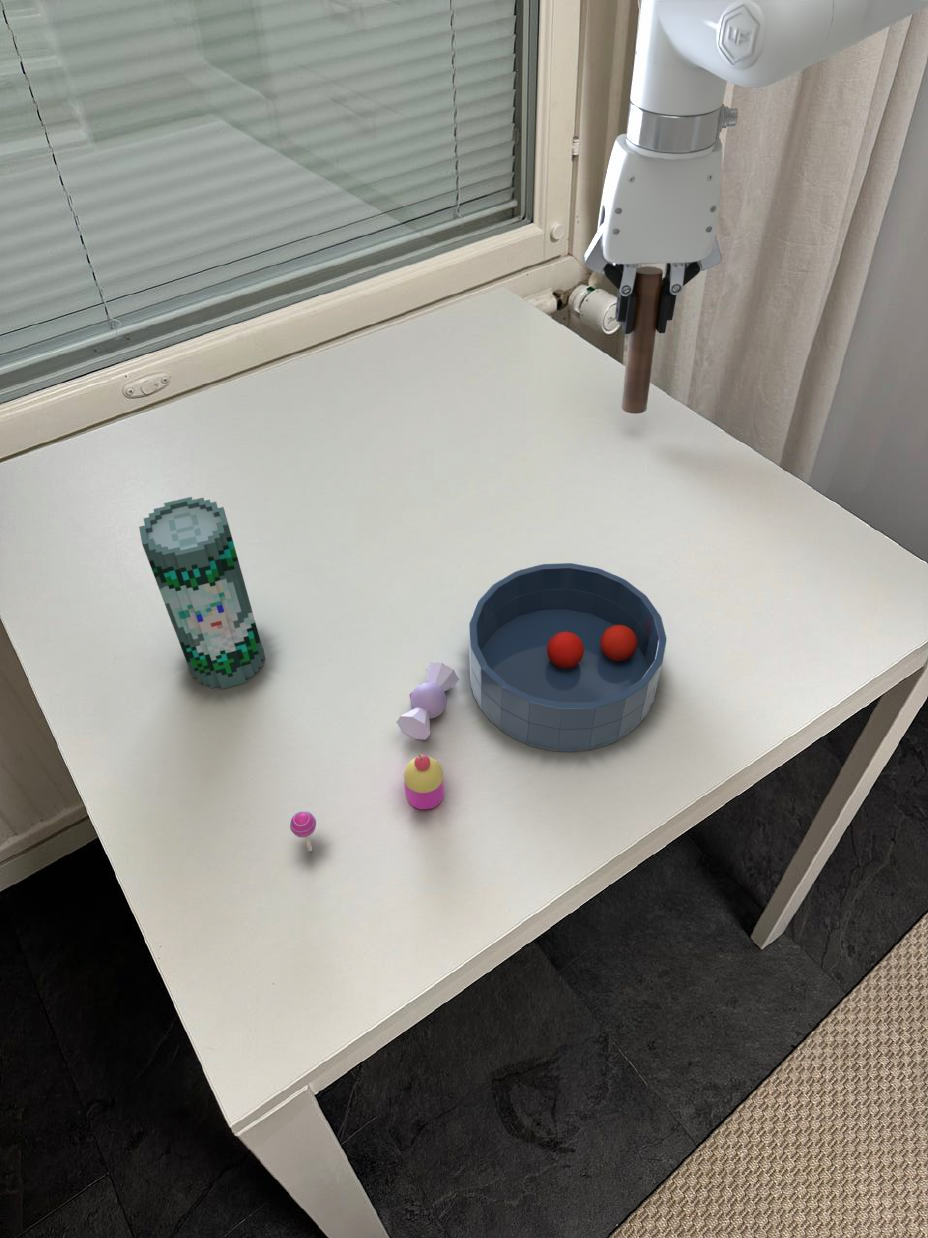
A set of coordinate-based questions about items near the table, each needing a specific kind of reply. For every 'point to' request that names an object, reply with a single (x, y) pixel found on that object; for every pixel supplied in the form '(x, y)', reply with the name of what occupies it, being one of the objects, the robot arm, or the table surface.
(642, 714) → the bowl
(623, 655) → the tomato
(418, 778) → the candy
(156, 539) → the can
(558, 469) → the table surface
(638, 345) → the stick
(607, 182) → the robot arm
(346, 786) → the table surface
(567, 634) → the tomato
